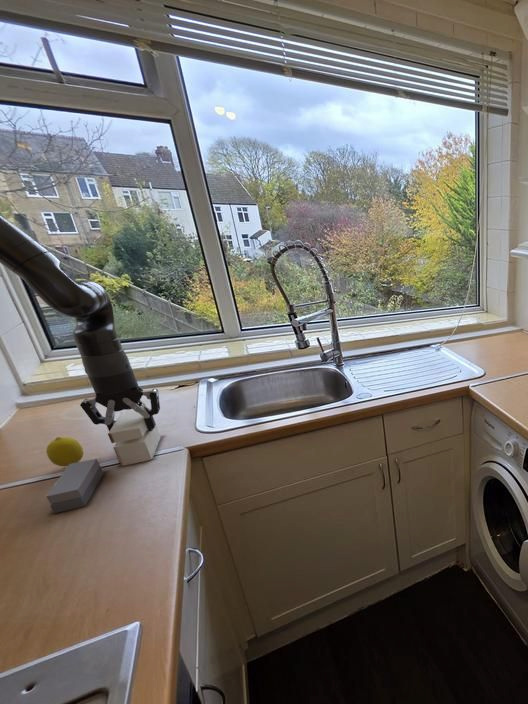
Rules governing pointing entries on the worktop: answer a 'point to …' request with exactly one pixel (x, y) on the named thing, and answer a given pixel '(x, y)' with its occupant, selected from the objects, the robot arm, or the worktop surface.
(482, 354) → the worktop surface
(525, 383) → the worktop surface
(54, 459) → the lemon
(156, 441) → the white block
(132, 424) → the cream flat slab
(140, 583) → the worktop surface
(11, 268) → the robot arm
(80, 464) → the gray block
